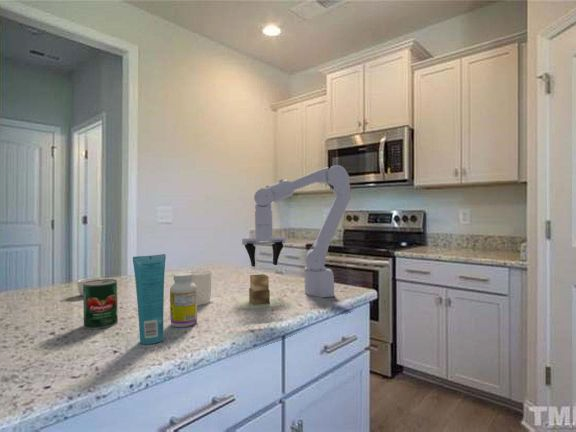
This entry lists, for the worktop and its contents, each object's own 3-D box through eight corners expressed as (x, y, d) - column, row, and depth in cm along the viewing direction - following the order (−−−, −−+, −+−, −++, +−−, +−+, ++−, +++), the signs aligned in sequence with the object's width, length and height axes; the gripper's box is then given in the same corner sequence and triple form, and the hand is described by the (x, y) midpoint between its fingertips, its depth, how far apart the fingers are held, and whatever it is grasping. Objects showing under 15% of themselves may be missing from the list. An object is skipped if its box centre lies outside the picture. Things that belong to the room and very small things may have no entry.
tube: (160, 334, 88) (159, 252, 87) (172, 338, 84) (170, 254, 84) (130, 343, 82) (128, 256, 82) (141, 348, 79) (139, 257, 78)
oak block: (264, 287, 116) (264, 274, 116) (268, 289, 112) (268, 276, 112) (250, 288, 114) (250, 275, 114) (254, 291, 110) (254, 277, 110)
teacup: (91, 298, 125) (91, 282, 125) (72, 297, 127) (71, 281, 127) (111, 291, 135) (111, 277, 135) (93, 291, 137) (93, 276, 137)
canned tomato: (94, 331, 90) (94, 286, 90) (77, 326, 95) (76, 283, 94) (124, 322, 97) (123, 280, 97) (106, 318, 101) (105, 278, 101)
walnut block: (264, 299, 116) (264, 286, 116) (269, 303, 111) (269, 290, 111) (249, 301, 114) (249, 288, 114) (253, 305, 110) (253, 291, 110)
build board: (272, 299, 121) (272, 296, 121) (284, 308, 109) (284, 304, 109) (235, 302, 116) (235, 299, 116) (244, 312, 105) (244, 309, 105)
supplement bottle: (175, 320, 99) (174, 271, 99) (200, 320, 99) (199, 271, 98) (166, 328, 92) (165, 276, 92) (193, 328, 92) (192, 276, 92)
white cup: (205, 309, 110) (205, 275, 110) (181, 307, 111) (180, 274, 111) (216, 302, 117) (215, 270, 117) (192, 301, 119) (192, 270, 119)
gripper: (280, 224, 131) (280, 262, 131) (239, 225, 126) (240, 265, 126) (287, 224, 124) (287, 265, 124) (244, 225, 119) (245, 268, 119)
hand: (264, 265), depth 125 cm, fingers open, 7 cm apart
